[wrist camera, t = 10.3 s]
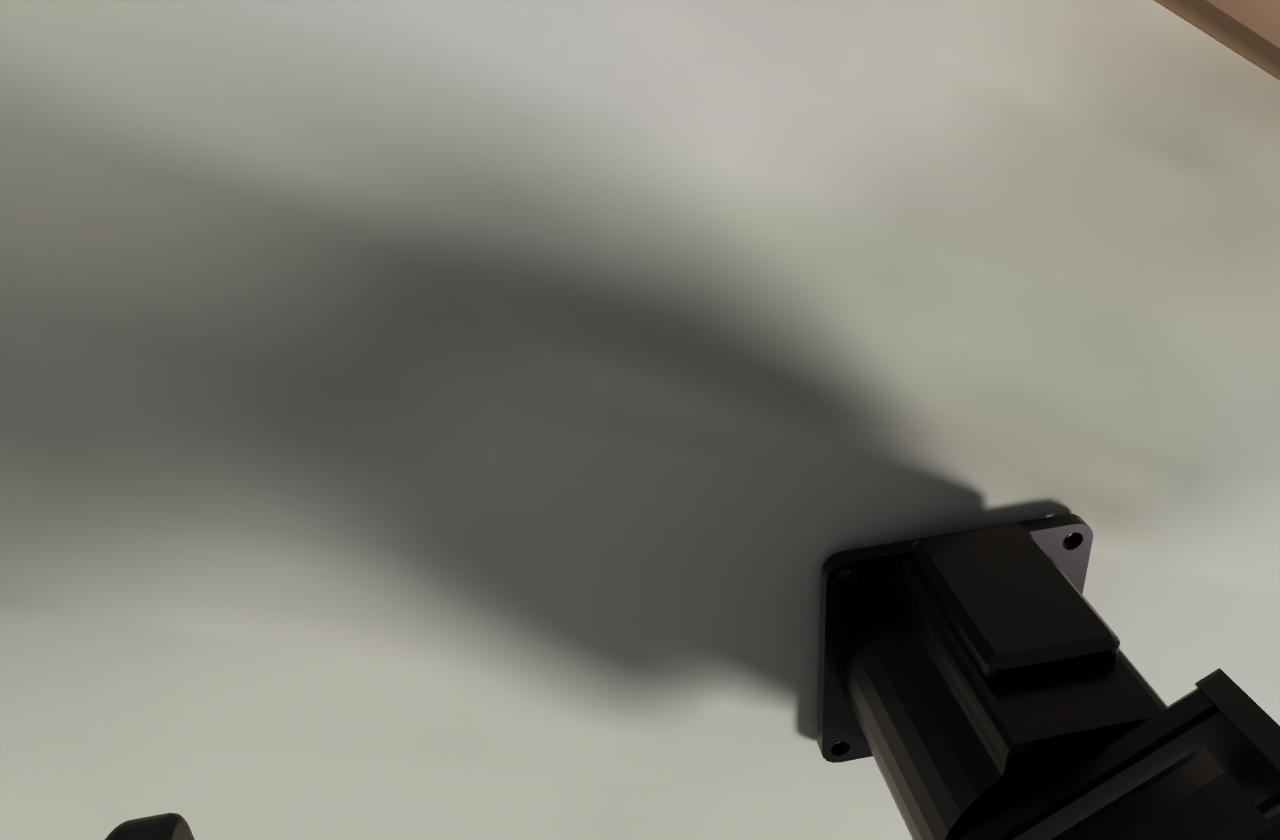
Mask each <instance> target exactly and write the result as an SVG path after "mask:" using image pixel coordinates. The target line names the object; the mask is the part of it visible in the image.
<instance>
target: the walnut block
mask: <svg viewBox="0 0 1280 840" xmlns="http://www.w3.org/2000/svg"><path fill="white" fill-rule="evenodd" d="M1154 1H1156V2H1157V3H1159V4H1160V5H1162V6H1164V7H1165V8H1167V9H1168V10H1170V11H1171V12H1173V13H1175V14H1176V15H1178V16H1179V17H1181V18H1182V19H1184V20H1186V21H1187V22H1189V23H1190V24H1192V25H1193V26H1195V27H1197V28H1198V29H1200V30H1201V31H1203V32H1204V33H1206V34H1208V35H1209V36H1211V37H1212V38H1214V39H1215V40H1217V41H1219V42H1220V43H1222V44H1223V45H1225V46H1226V47H1228V48H1230V49H1231V50H1233V51H1234V52H1236V53H1237V54H1239V55H1241V56H1242V57H1244V58H1245V59H1247V60H1248V61H1250V62H1252V63H1253V64H1255V65H1256V66H1258V67H1259V68H1261V69H1263V70H1264V71H1266V72H1267V73H1269V74H1271V75H1272V76H1274V77H1275V78H1277V79H1278V80H1280V0H1154Z"/></svg>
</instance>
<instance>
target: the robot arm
mask: <svg viewBox="0 0 1280 840" xmlns="http://www.w3.org/2000/svg"><path fill="white" fill-rule="evenodd" d="M1072 533H1073V534H1072ZM1069 534H1072V535H1071V536H1070V537H1069V538H1067V539H1065V538H1066V537H1067V536H1068V535H1069ZM1092 539H1093V534H1092V530H1091V529H1090V527H1089V526H1088V525H1087V524H1086V523H1085V522H1084V521H1083V520H1082V519H1081V518H1080V517H1079V516H1077V515H1075V514H1066V515H1060V516H1054V517H1048V518H1042V519H1036V520H1030V521H1024V522H1018V523H1011V524H1005V525H999V526H993V527H987V528H981V529H975V530H969V531H963V532H957V533H951V534H945V535H939V536H933V537H927V538H921V539H915V540H909V541H903V542H897V543H891V544H885V545H879V546H873V547H867V548H860V549H854V550H848V551H842V552H839V553H836V554H834V555H832V556H831V557H830V558H828V559H827V560H826V562H825V563H824V564H823V566H822V570H821V588H820V630H819V671H818V712H817V743H818V746H819V749H820V751H821V753H822V756H823V758H825V759H826V760H827V761H829V762H833V763H834V762H844V761H849V760H855V759H860V758H865V757H870V756H874V758H875V761H876V763H877V765H878V767H879V769H880V771H881V773H882V775H883V777H884V780H885V782H886V784H887V786H888V788H889V790H890V792H891V794H892V796H893V799H894V801H895V803H896V805H897V807H898V809H899V811H900V813H901V815H902V818H903V820H904V822H905V824H906V826H907V828H908V830H909V832H910V834H911V837H912V839H913V840H1280V726H1279V725H1278V724H1277V723H1276V722H1275V721H1274V720H1273V719H1272V718H1271V717H1270V716H1269V715H1268V714H1267V713H1266V712H1265V711H1263V710H1262V709H1261V708H1260V707H1259V706H1258V705H1257V704H1256V703H1255V702H1254V701H1253V700H1252V699H1251V698H1250V697H1249V696H1248V695H1247V694H1246V693H1245V692H1244V691H1243V690H1242V689H1241V688H1240V687H1239V686H1237V685H1236V684H1235V683H1234V682H1233V681H1232V680H1231V679H1230V678H1229V677H1228V676H1227V675H1226V674H1225V673H1224V672H1223V671H1222V670H1221V669H1220V668H1219V669H1217V670H1216V671H1214V672H1212V673H1211V674H1209V675H1208V676H1206V677H1205V678H1203V679H1201V680H1200V681H1198V682H1197V683H1195V685H1196V687H1197V689H1195V690H1193V691H1192V692H1190V693H1189V694H1187V695H1185V696H1184V697H1182V698H1181V699H1179V700H1177V701H1176V702H1174V703H1173V704H1171V705H1169V706H1167V705H1166V704H1165V703H1164V702H1163V700H1162V699H1161V698H1160V697H1159V696H1158V694H1157V693H1156V692H1155V691H1154V690H1153V688H1152V687H1151V686H1150V685H1149V683H1148V682H1147V681H1146V680H1145V679H1144V677H1143V676H1142V675H1141V674H1140V673H1139V671H1138V670H1137V669H1136V668H1135V667H1134V665H1133V664H1132V663H1131V662H1130V661H1129V659H1128V658H1127V657H1126V656H1125V655H1124V653H1123V652H1122V651H1121V650H1120V649H1119V645H1120V641H1119V639H1118V637H1117V636H1116V634H1115V633H1114V632H1113V631H1112V630H1111V628H1110V627H1109V626H1108V625H1107V624H1106V623H1105V621H1104V620H1103V619H1102V618H1101V617H1100V615H1099V614H1098V613H1097V612H1096V611H1095V609H1094V608H1093V607H1092V606H1091V605H1090V604H1089V602H1088V601H1087V600H1086V599H1085V598H1084V596H1083V595H1082V593H1083V588H1084V582H1085V577H1086V571H1087V566H1088V561H1089V555H1090V550H1091V545H1092ZM848 570H850V571H851V572H850V573H849V574H848V575H847V576H844V577H838V576H839V575H840V574H841V573H842V572H845V571H848ZM838 742H839V743H838ZM105 840H195V839H194V837H193V835H192V832H191V830H190V828H189V825H188V824H187V822H186V820H185V819H184V818H183V817H182V816H181V815H179V814H177V813H167V814H161V815H156V816H150V817H144V818H139V819H133V820H129V821H126V822H124V823H122V824H120V825H119V826H118V827H116V828H115V829H114V830H113V831H112V832H111V833H110V834H109V835H108V836H107V838H106V839H105Z"/></svg>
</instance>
